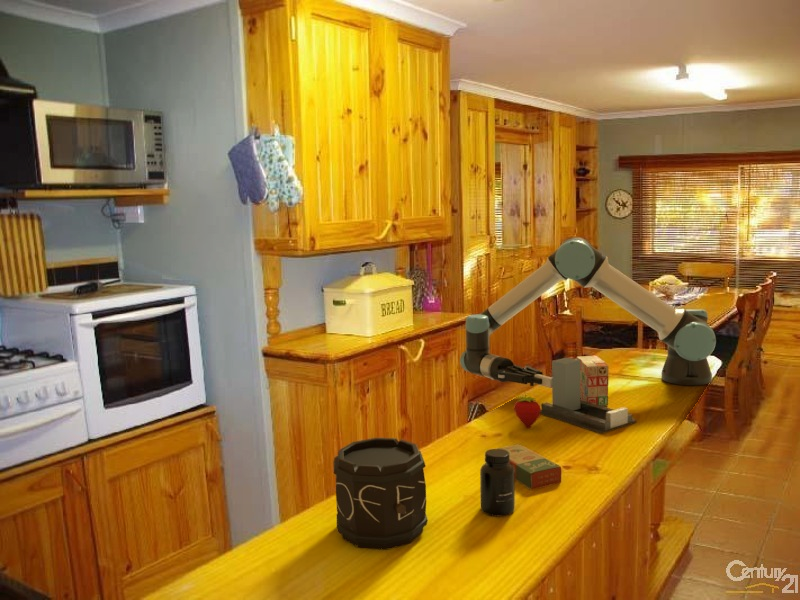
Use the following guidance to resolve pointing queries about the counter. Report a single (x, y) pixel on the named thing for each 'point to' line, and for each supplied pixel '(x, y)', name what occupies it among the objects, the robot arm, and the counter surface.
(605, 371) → the stack of blocks
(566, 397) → the grey rectangular block
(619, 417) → the chute
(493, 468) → the supplement bottle
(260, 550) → the counter surface
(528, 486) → the carton
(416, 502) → the wooden barrel
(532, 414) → the strawberry
